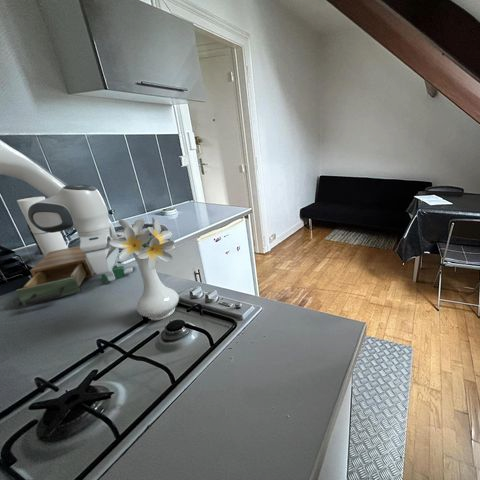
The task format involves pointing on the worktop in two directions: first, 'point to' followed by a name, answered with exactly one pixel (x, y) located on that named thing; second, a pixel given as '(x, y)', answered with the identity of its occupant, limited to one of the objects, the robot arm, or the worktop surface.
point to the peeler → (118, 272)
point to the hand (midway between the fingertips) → (114, 274)
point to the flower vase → (147, 264)
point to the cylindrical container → (43, 238)
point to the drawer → (53, 283)
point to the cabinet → (63, 260)
